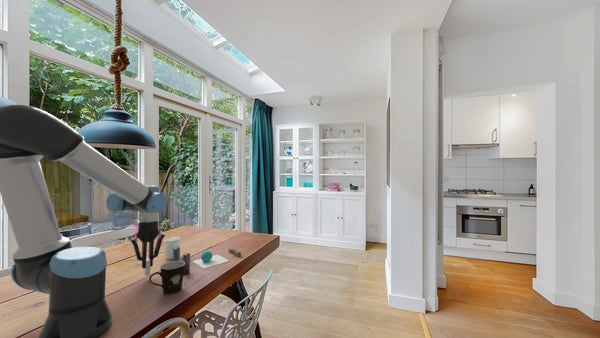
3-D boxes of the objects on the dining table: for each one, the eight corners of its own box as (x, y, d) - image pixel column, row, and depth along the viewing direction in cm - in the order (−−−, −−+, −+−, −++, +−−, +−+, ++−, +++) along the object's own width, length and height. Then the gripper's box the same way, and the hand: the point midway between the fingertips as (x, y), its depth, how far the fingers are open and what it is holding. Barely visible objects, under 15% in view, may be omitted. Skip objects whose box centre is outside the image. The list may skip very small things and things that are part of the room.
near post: (190, 273, 106) (191, 254, 106) (184, 275, 104) (184, 255, 104) (188, 271, 108) (188, 252, 108) (181, 273, 106) (181, 254, 106)
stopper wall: (240, 256, 129) (241, 252, 129) (237, 257, 127) (237, 252, 127) (231, 252, 136) (231, 248, 136) (228, 253, 134) (228, 248, 134)
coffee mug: (185, 283, 96) (186, 259, 97) (183, 293, 88) (183, 267, 89) (153, 288, 92) (154, 263, 92) (148, 299, 84) (148, 271, 84)
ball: (212, 250, 120) (203, 256, 116) (215, 259, 122) (205, 265, 118) (207, 248, 124) (198, 253, 120) (210, 257, 125) (200, 262, 121)
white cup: (160, 258, 125) (160, 240, 125) (171, 254, 133) (172, 236, 133) (172, 260, 123) (172, 241, 123) (183, 255, 131) (183, 237, 131)
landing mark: (229, 261, 122) (229, 260, 122) (203, 268, 111) (203, 268, 111) (217, 254, 131) (217, 254, 131) (192, 261, 121) (192, 261, 121)
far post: (180, 266, 115) (180, 247, 115) (174, 267, 113) (174, 249, 113) (178, 264, 117) (178, 246, 117) (171, 266, 115) (172, 247, 115)
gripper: (162, 217, 108) (161, 268, 108) (128, 221, 99) (127, 276, 98) (167, 219, 103) (166, 272, 103) (132, 224, 94) (130, 282, 93)
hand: (147, 274), depth 100 cm, fingers closed
